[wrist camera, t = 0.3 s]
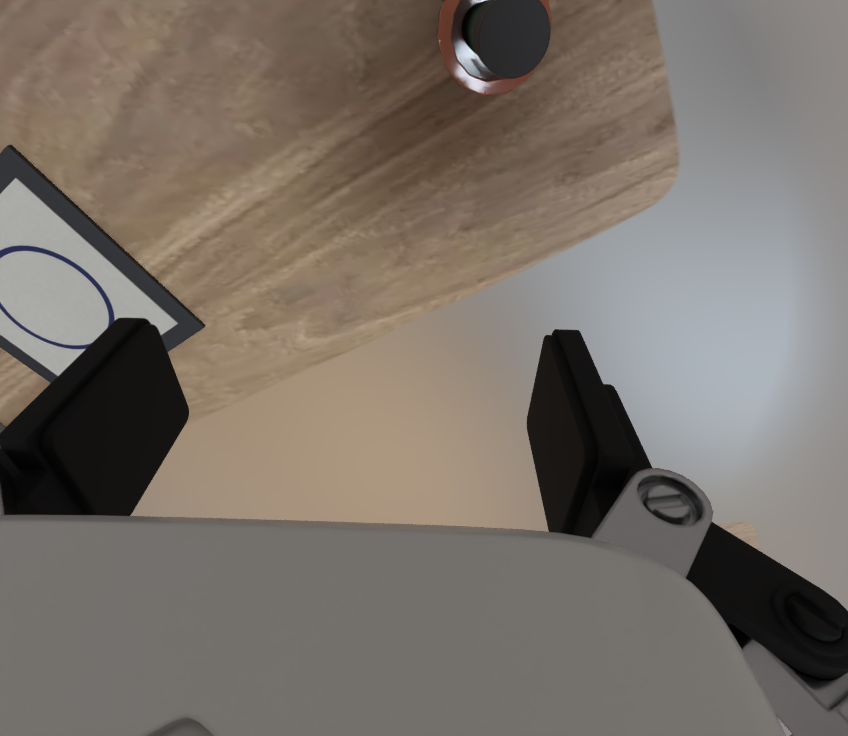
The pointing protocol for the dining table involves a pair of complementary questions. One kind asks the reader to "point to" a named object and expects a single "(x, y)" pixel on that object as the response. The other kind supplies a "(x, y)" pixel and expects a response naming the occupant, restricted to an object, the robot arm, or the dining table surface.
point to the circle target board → (67, 277)
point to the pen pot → (469, 52)
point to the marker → (508, 35)
